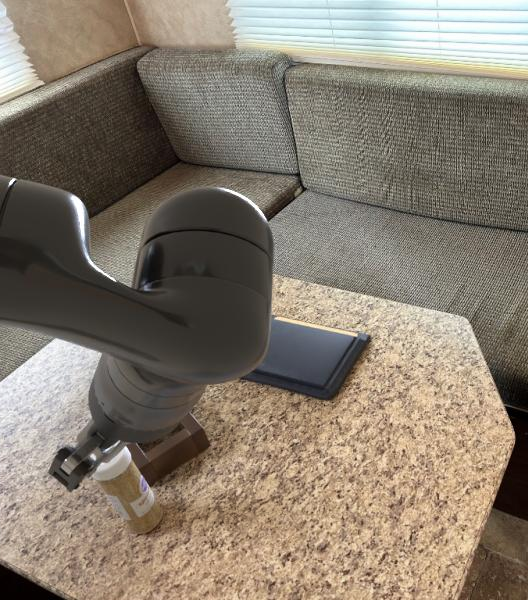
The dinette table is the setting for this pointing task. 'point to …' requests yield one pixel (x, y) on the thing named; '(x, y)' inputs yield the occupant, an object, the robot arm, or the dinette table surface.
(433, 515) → the dinette table surface
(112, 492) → the sprinkles bottle
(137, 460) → the socket block
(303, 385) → the wallet
